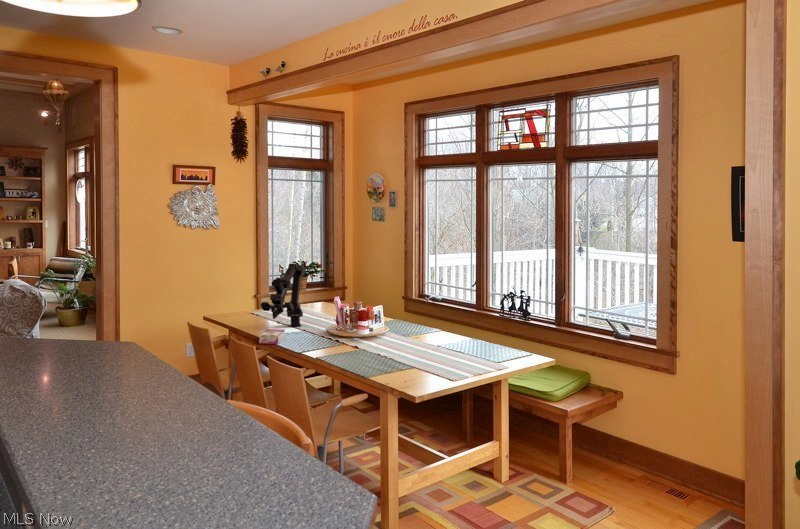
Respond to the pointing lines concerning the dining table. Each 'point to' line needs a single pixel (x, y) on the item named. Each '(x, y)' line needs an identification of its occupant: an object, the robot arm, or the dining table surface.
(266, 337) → the candy bar box
